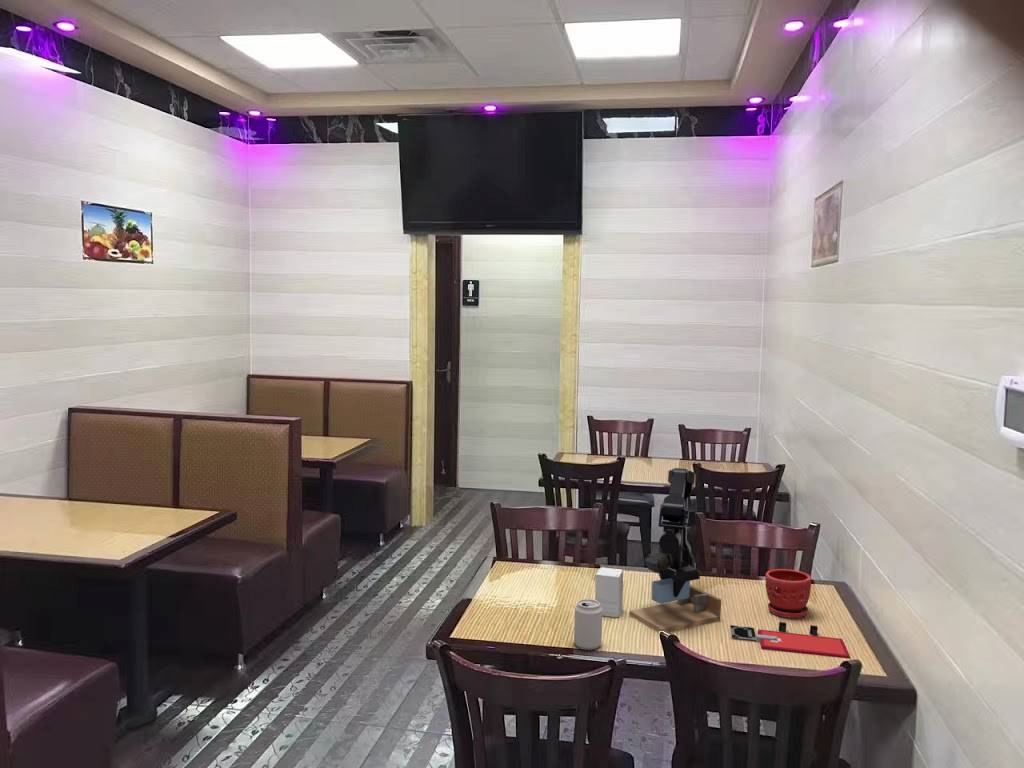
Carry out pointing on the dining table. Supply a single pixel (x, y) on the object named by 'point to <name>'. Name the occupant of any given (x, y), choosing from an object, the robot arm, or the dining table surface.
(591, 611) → the can
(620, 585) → the supplement box
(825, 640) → the red board with handle
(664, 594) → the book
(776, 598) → the plant pot
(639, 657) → the dining table surface
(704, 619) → the shelf
